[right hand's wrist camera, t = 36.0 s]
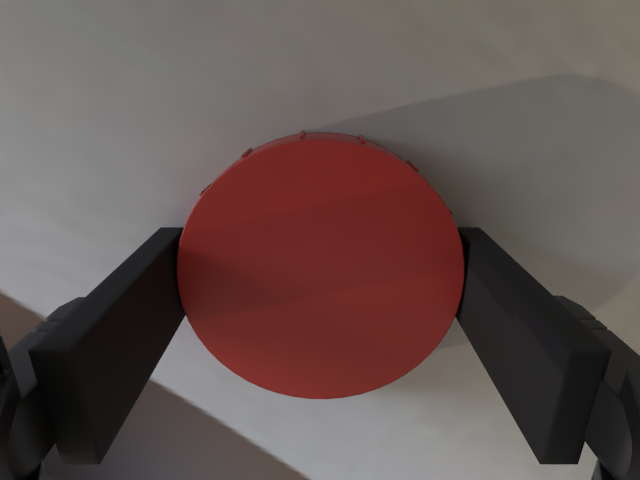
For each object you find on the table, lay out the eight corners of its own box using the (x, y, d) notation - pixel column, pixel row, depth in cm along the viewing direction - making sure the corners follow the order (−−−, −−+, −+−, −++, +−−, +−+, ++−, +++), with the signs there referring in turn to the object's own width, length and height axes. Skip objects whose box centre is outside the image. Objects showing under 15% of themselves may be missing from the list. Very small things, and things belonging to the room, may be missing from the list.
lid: (474, 143, 13) (495, 152, 11) (425, 375, 16) (436, 408, 14) (187, 120, 12) (168, 126, 11) (196, 359, 15) (182, 390, 14)
